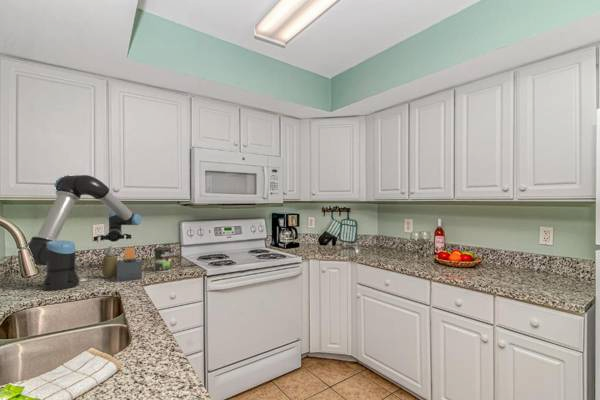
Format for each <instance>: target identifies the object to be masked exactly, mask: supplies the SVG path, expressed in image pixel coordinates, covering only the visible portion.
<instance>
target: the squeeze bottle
mask: <svg viewBox="0 0 600 400" xmlns="http://www.w3.org/2000/svg"><path fill="white" fill-rule="evenodd" d="M117 262H118V257H117V256H116V252H115V251H113V247H112V246H108V250H107V252H106V253H105V256H104V257H103V261H102V271H101V273H102V275H103V277H104V279H106V280H107V279H113V278H117Z"/></svg>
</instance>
